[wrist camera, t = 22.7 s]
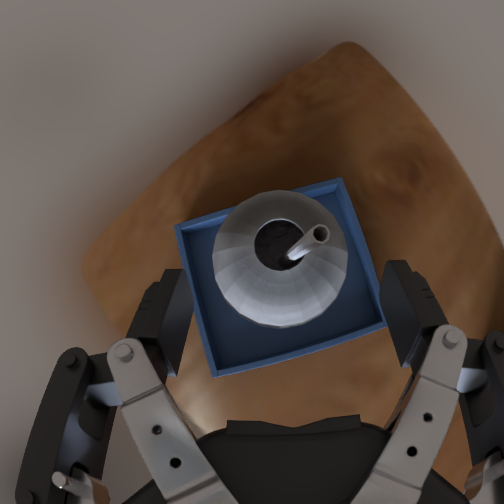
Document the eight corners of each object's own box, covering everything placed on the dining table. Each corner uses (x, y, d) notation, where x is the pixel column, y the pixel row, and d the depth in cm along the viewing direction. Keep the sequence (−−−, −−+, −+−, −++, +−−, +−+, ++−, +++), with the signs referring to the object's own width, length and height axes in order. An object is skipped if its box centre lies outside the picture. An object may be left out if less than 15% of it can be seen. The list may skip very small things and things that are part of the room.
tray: (336, 186, 29) (341, 176, 26) (381, 323, 26) (390, 325, 23) (181, 231, 29) (173, 225, 27) (218, 372, 26) (212, 378, 24)
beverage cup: (270, 225, 28) (249, 65, 8) (334, 269, 27) (449, 183, 7) (224, 288, 27) (99, 243, 8) (289, 334, 26) (314, 410, 6)
